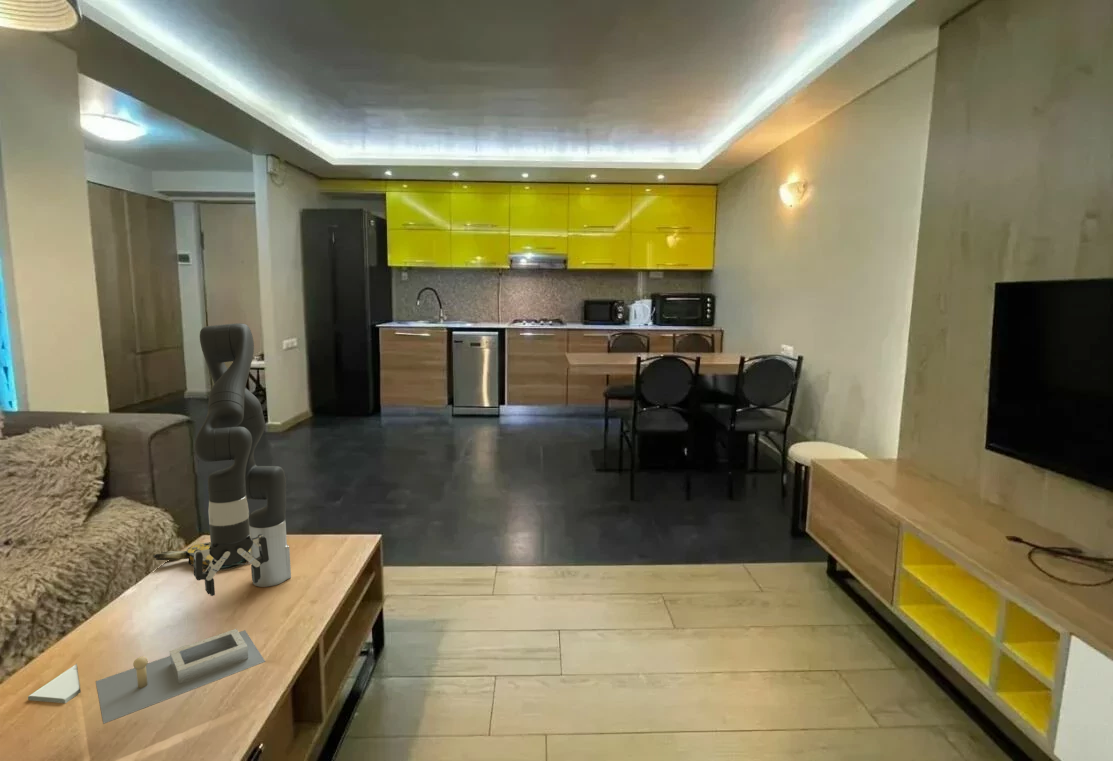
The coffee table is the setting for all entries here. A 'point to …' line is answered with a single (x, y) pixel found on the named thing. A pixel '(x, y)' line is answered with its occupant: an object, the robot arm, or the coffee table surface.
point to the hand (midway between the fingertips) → (233, 588)
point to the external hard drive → (59, 688)
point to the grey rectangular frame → (211, 662)
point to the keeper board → (159, 682)
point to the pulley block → (190, 555)
